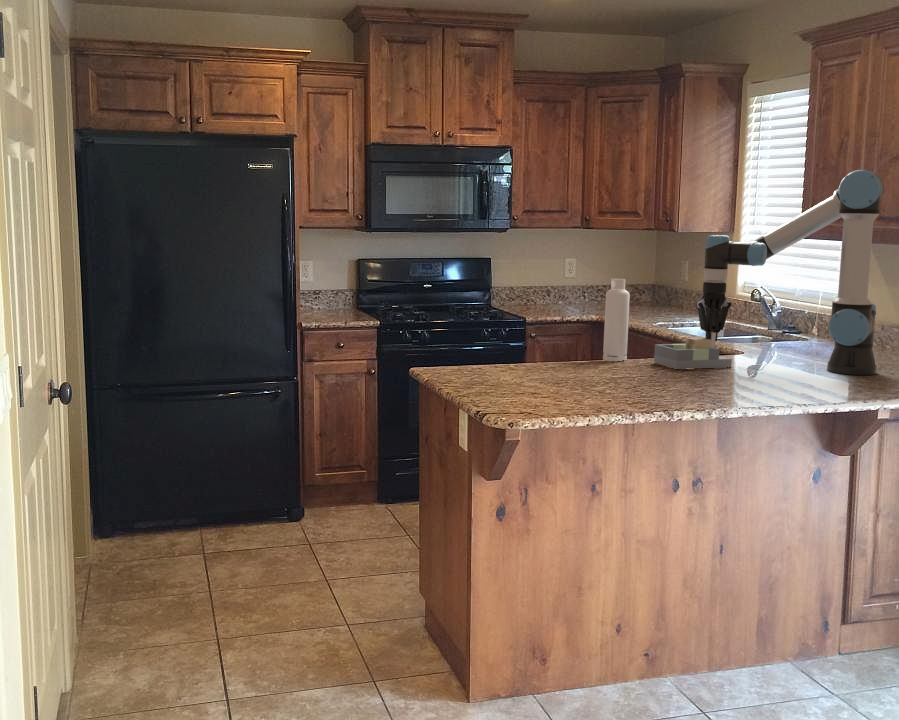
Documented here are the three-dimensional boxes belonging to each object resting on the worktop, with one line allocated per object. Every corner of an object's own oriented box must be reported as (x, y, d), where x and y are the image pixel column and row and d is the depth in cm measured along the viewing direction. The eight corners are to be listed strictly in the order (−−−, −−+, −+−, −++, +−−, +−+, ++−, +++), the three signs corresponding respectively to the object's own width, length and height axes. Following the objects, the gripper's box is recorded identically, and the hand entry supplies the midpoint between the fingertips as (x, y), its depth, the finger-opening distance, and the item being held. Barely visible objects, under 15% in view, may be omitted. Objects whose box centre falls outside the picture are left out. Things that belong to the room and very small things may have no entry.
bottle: (631, 361, 337) (635, 279, 333) (610, 362, 334) (614, 279, 330) (618, 357, 344) (622, 278, 340) (598, 358, 341) (602, 278, 337)
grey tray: (731, 367, 327) (732, 348, 326) (676, 369, 320) (677, 350, 319) (706, 361, 340) (708, 342, 339) (653, 363, 333) (654, 344, 332)
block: (710, 357, 328) (711, 339, 327) (695, 358, 326) (696, 340, 325) (700, 355, 334) (701, 337, 333) (685, 355, 332) (686, 337, 331)
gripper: (724, 280, 334) (720, 349, 337) (691, 280, 329) (687, 350, 333) (738, 282, 327) (733, 352, 330) (704, 282, 322) (700, 353, 326)
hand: (710, 351), depth 332 cm, fingers closed
